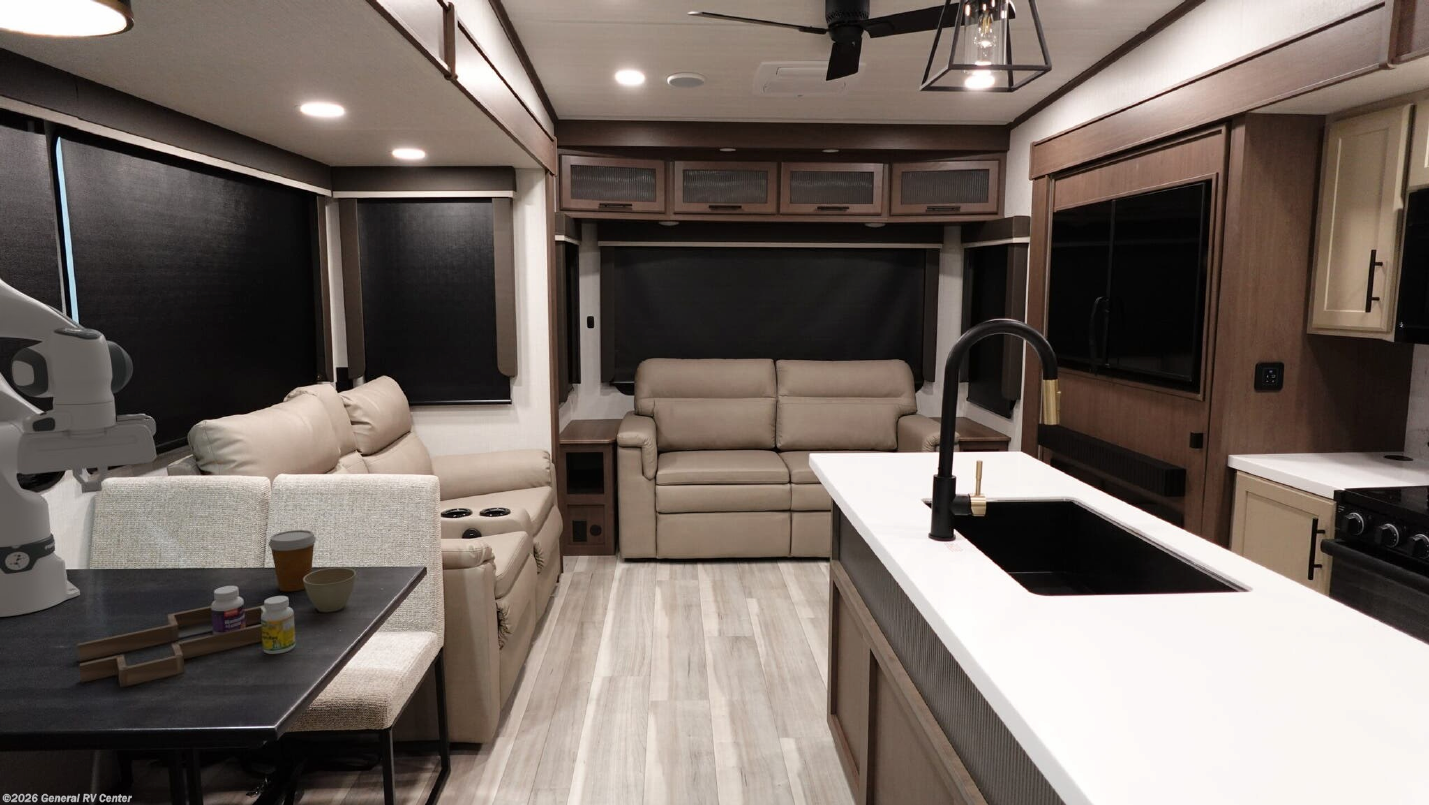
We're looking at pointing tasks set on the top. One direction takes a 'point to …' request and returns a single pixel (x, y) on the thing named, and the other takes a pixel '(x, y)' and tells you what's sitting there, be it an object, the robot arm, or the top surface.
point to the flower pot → (330, 588)
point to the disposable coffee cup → (292, 557)
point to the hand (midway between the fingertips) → (91, 491)
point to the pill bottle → (227, 610)
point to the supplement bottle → (277, 625)
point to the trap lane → (176, 629)
